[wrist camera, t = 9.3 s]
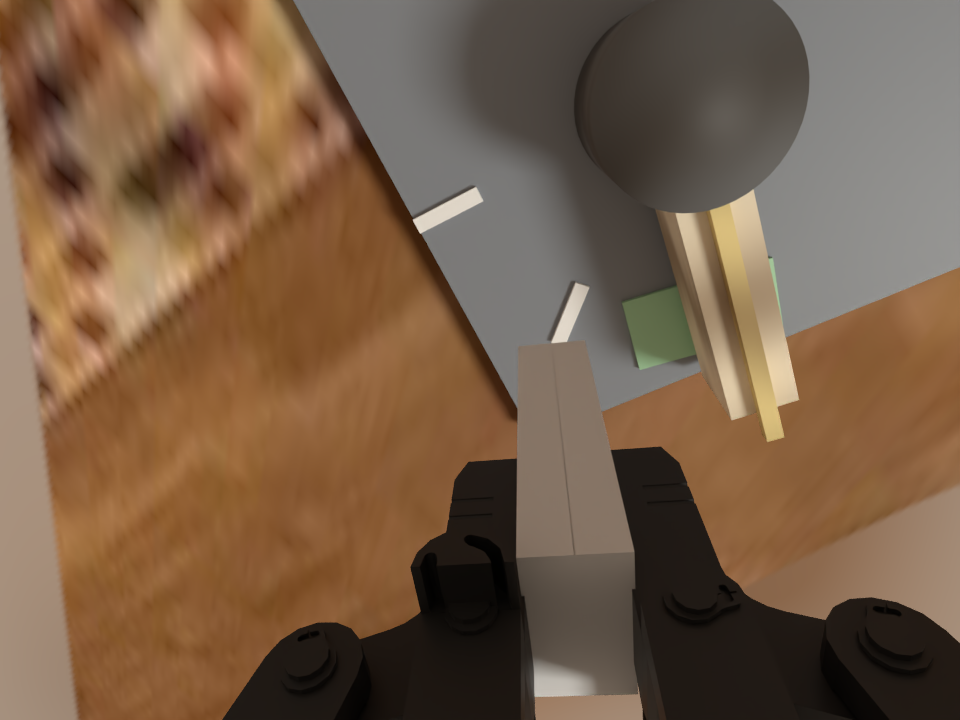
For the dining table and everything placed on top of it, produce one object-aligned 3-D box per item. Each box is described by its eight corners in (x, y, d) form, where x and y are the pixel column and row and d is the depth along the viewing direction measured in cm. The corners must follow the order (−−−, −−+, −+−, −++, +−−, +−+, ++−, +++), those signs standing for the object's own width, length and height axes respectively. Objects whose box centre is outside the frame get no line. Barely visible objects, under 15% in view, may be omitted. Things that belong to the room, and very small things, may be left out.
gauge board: (856, -469, 16) (884, -515, 15) (981, 241, 24) (1008, 250, 23) (267, -63, 21) (251, -73, 20) (533, 425, 29) (534, 441, 28)
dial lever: (551, 49, 21) (562, 40, 16) (723, -28, 20) (787, -62, 15) (663, 402, 26) (695, 468, 22) (803, 358, 25) (867, 418, 21)
